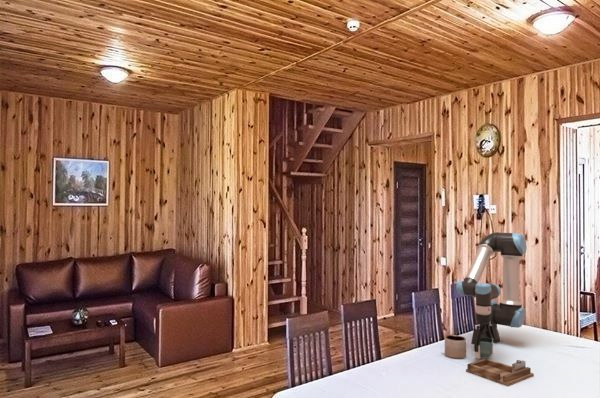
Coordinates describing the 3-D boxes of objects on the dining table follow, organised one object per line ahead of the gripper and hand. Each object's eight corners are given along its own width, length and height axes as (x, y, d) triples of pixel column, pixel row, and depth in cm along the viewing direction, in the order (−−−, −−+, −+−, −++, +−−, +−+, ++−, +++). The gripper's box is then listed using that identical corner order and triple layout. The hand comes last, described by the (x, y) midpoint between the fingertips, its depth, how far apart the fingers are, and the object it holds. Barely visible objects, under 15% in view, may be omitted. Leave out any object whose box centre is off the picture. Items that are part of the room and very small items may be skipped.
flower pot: (493, 355, 231) (493, 338, 231) (493, 360, 223) (492, 342, 223) (475, 352, 234) (475, 336, 235) (474, 358, 226) (474, 340, 227)
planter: (444, 357, 231) (444, 339, 231) (445, 351, 241) (445, 333, 241) (466, 360, 227) (466, 341, 227) (466, 354, 237) (466, 336, 237)
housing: (465, 371, 211) (465, 364, 211) (492, 363, 223) (492, 355, 223) (507, 386, 193) (507, 377, 193) (533, 376, 206) (533, 368, 206)
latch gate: (511, 374, 203) (511, 362, 203) (522, 370, 208) (521, 358, 208) (515, 376, 202) (515, 363, 202) (526, 372, 207) (526, 359, 207)
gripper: (476, 318, 219) (477, 362, 219) (502, 311, 232) (503, 353, 232) (463, 315, 225) (464, 358, 225) (489, 308, 239) (490, 349, 238)
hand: (483, 355), depth 229 cm, fingers closed on flower pot, 11 cm apart
